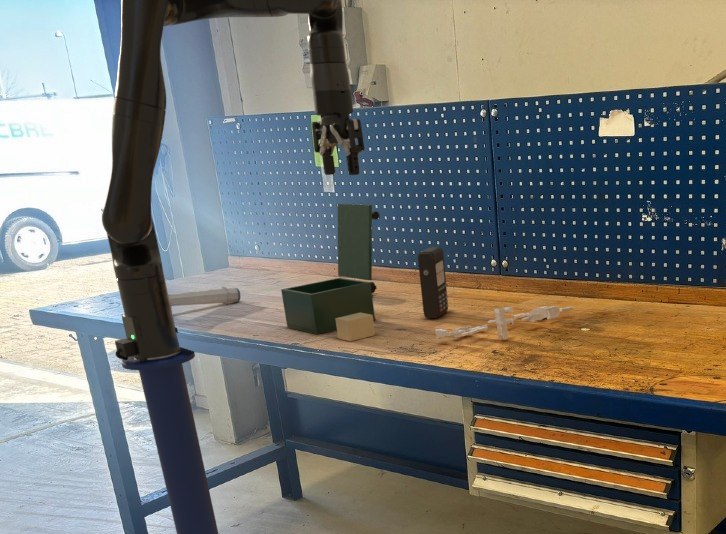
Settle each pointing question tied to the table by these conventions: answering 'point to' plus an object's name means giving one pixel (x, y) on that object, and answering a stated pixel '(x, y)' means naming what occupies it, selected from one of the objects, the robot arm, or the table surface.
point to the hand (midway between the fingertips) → (342, 174)
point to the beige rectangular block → (355, 326)
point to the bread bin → (325, 303)
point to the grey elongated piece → (505, 321)
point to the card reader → (433, 282)
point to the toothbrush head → (205, 297)
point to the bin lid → (355, 240)
